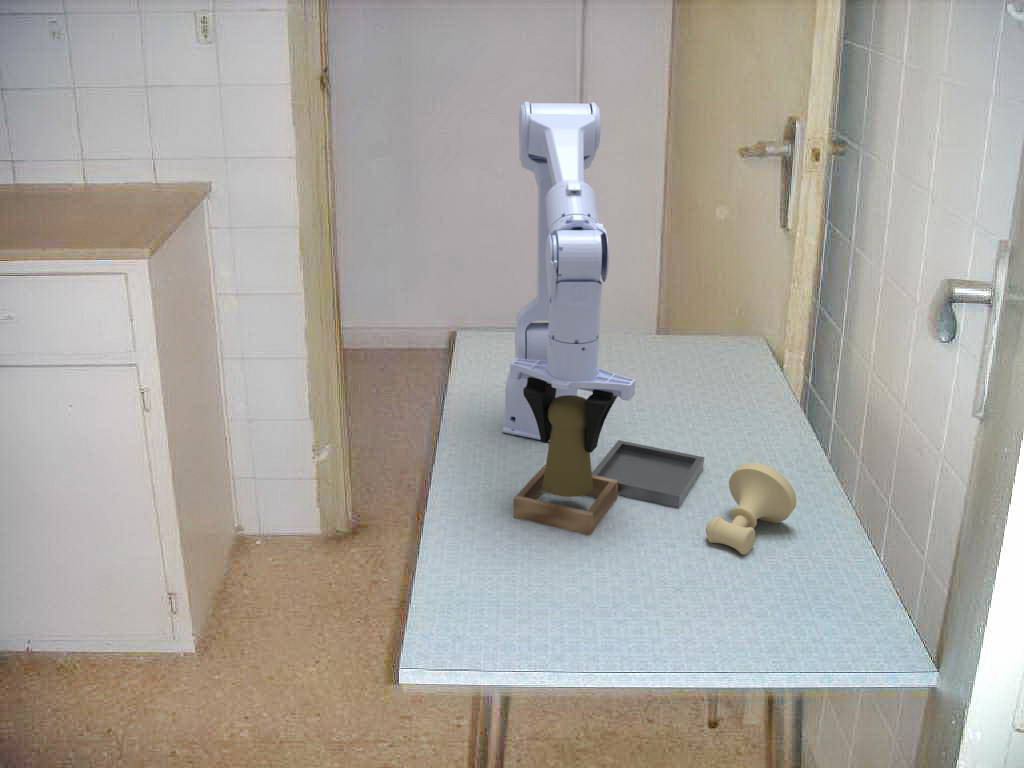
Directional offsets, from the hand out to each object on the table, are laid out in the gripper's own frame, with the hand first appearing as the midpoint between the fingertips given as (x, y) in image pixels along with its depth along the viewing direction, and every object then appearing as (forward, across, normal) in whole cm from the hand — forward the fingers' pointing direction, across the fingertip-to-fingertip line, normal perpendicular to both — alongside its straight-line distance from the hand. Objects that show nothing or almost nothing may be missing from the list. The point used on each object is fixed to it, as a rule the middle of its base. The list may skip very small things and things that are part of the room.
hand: (568, 444), depth 127 cm
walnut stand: (+8, 0, 0) cm, 8 cm away
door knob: (+9, +21, +3) cm, 23 cm away
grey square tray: (+8, +6, +11) cm, 16 cm away
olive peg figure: (+5, 0, -1) cm, 5 cm away
